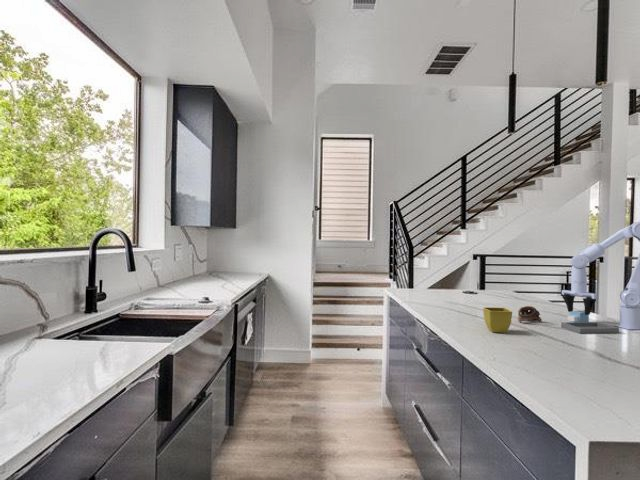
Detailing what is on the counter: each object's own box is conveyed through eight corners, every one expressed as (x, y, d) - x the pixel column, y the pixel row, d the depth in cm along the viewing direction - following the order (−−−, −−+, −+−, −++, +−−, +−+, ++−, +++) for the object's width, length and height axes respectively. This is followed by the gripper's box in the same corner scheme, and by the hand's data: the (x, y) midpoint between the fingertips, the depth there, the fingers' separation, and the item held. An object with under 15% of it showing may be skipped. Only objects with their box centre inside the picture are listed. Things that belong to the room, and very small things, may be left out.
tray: (597, 326, 170) (597, 321, 170) (618, 333, 158) (618, 328, 158) (561, 327, 169) (561, 322, 169) (580, 333, 158) (580, 328, 158)
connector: (581, 321, 181) (581, 310, 181) (591, 323, 177) (591, 311, 177) (566, 323, 177) (566, 311, 177) (575, 325, 173) (575, 313, 173)
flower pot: (504, 329, 166) (504, 307, 166) (512, 334, 157) (512, 311, 157) (482, 328, 167) (482, 307, 167) (489, 333, 158) (489, 310, 158)
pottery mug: (548, 325, 175) (543, 310, 173) (528, 335, 176) (523, 319, 173) (531, 313, 187) (526, 298, 185) (512, 322, 187) (507, 308, 185)
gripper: (557, 280, 182) (557, 310, 182) (589, 284, 169) (589, 316, 169) (567, 280, 185) (567, 309, 185) (600, 283, 171) (600, 315, 172)
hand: (578, 313), depth 177 cm, fingers open, 7 cm apart
